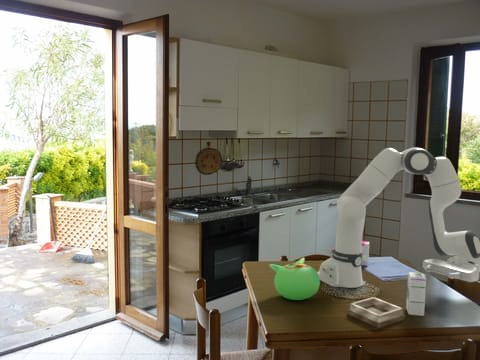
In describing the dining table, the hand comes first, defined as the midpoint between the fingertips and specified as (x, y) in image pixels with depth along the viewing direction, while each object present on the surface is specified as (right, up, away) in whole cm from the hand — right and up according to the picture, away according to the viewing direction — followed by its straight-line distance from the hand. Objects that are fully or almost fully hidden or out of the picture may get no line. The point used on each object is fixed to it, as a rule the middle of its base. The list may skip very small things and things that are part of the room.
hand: (438, 273), depth 177 cm
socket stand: (-27, -14, -11) cm, 32 cm away
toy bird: (-54, -11, +5) cm, 56 cm away
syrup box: (-11, -14, -6) cm, 19 cm away
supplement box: (-15, -7, +53) cm, 56 cm away
